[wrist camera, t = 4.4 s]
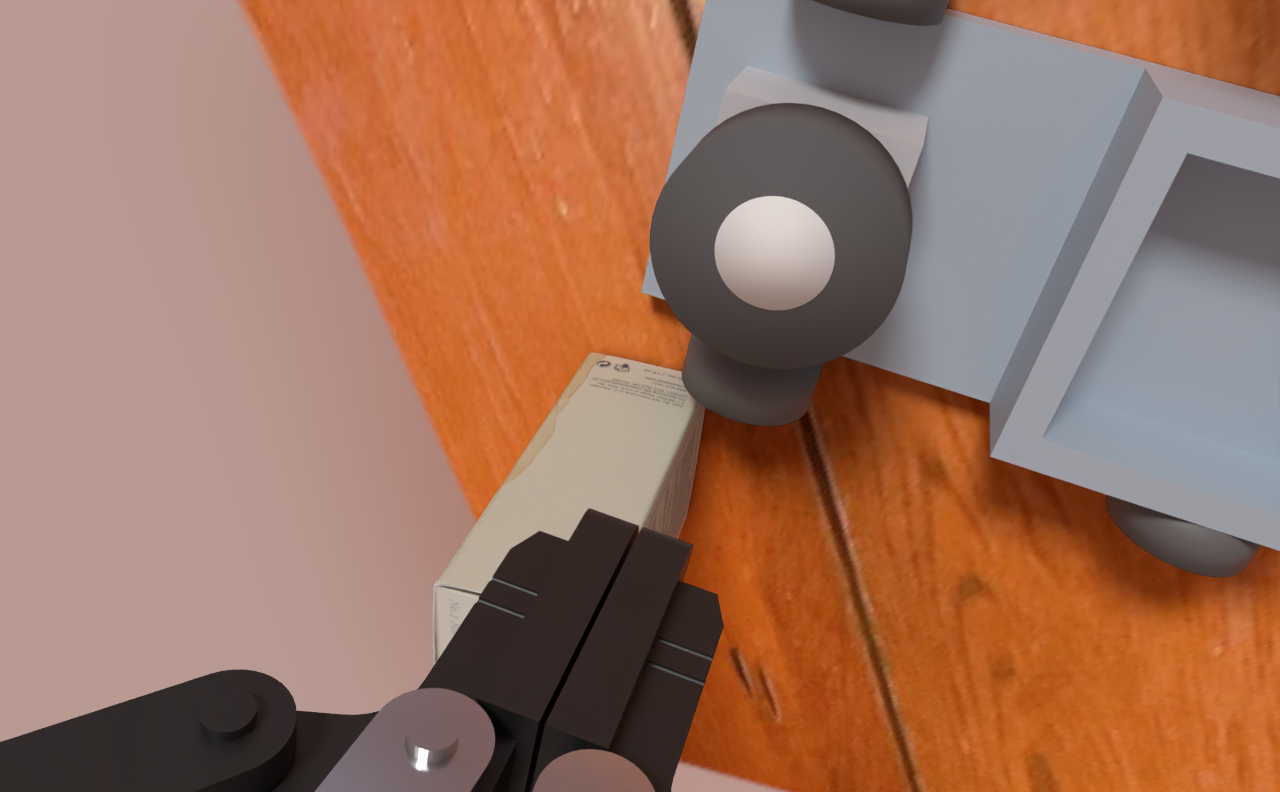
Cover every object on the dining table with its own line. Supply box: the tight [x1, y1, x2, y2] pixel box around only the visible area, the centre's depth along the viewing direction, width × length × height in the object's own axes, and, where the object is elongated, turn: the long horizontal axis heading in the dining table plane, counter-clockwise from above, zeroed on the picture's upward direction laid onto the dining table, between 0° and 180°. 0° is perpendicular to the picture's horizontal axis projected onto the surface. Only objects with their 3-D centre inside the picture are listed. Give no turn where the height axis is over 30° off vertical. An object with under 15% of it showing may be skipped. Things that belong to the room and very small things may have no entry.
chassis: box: [641, 0, 1280, 577], centre depth 27 cm, size 20×13×4 cm, turn 78°
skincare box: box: [433, 352, 705, 665], centre depth 31 cm, size 6×4×12 cm
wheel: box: [650, 103, 913, 369], centre depth 24 cm, size 6×6×2 cm
